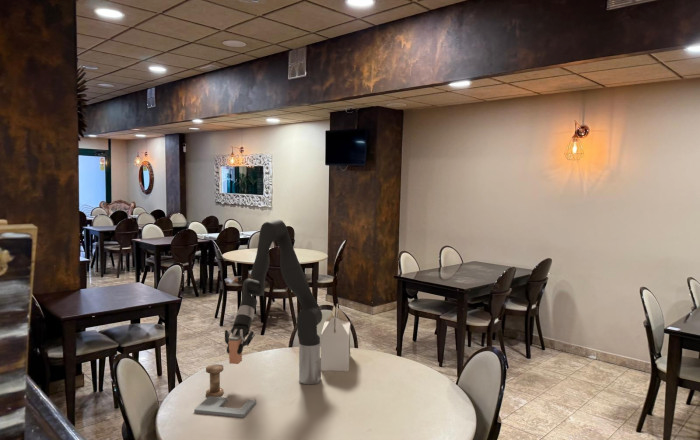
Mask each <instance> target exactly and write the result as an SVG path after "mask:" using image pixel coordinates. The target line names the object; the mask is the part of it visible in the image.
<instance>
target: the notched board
mask: <svg viewBox="0 0 700 440" xmlns="http://www.w3.org/2000/svg"><path fill="white" fill-rule="evenodd" d="M227 402H228V397H223V396H222V397H221V396H219V397H214V396H209V397H208V396H207V397H206V398H205V399H204V400H203V401H202V402H201V403H200V404H199V405H198V406H196V408H194V409H193V410H194V412H193V413H195V414H204V415H214V416H225V417H235V418H245V417H246V416H247V415H248V413H249V412H250V411H251V410H252V408H253V407H254V406H255V405H256V404H257V400H255V399H254V400H253V399H248V400H247V401H246V402H245V403H244V404H243V406H241V408H237V407H235V408H234V407H226V406H225V407H223V406H224V405H225V404H226V403H227Z"/></svg>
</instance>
